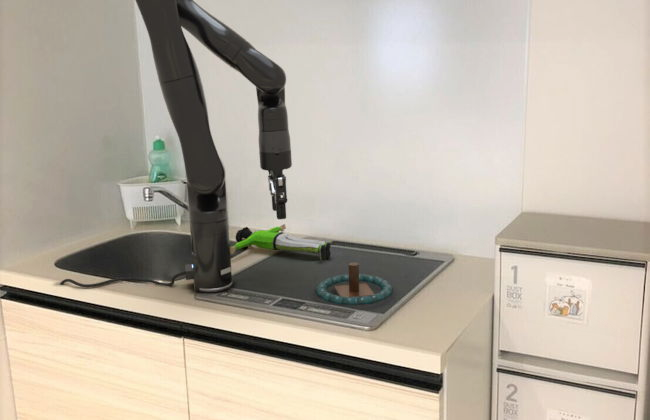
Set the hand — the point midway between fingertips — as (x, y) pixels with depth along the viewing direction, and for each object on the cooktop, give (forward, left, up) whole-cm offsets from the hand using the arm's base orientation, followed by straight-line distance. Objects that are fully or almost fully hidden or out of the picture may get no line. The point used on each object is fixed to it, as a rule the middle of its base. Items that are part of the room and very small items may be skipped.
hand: (279, 214), depth 167 cm
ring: (+15, -13, -16) cm, 26 cm away
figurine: (+3, +24, -18) cm, 30 cm away
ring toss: (+15, -13, -17) cm, 27 cm away
